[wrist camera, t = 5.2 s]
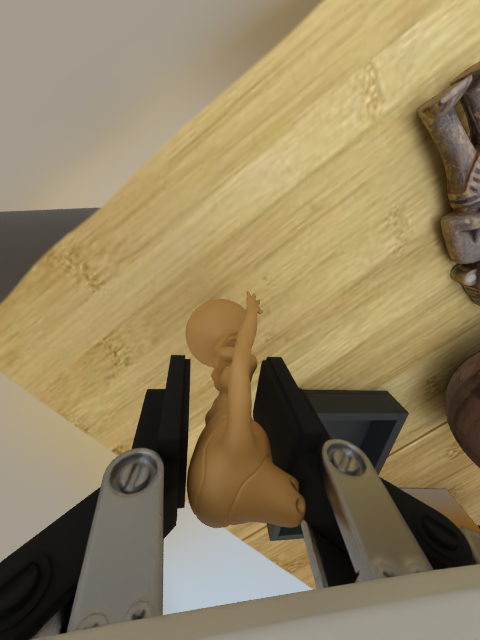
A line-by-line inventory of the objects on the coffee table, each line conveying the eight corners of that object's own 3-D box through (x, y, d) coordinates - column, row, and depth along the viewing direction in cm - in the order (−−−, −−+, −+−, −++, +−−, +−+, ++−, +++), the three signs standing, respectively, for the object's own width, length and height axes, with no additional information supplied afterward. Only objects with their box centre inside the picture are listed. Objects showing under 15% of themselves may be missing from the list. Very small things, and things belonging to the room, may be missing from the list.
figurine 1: (230, 370, 19) (357, 556, 9) (143, 382, 16) (192, 659, 7) (246, 257, 16) (464, 354, 6) (143, 249, 13) (234, 397, 4)
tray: (264, 511, 37) (269, 541, 34) (295, 389, 29) (306, 413, 25) (337, 506, 39) (349, 534, 36) (387, 390, 31) (409, 413, 27)
